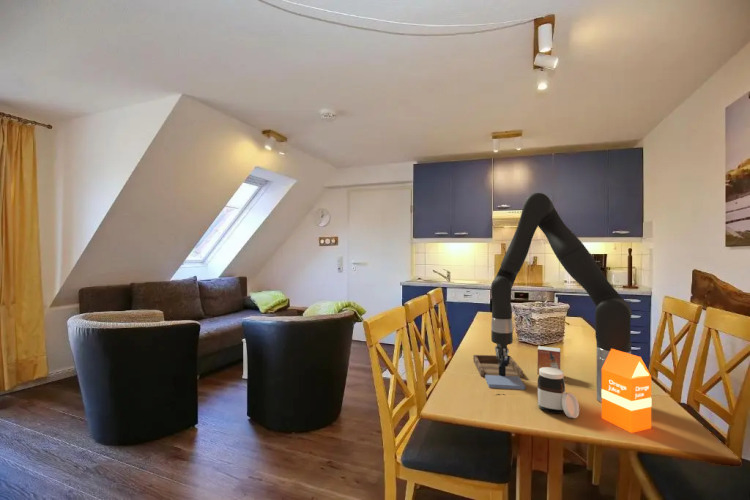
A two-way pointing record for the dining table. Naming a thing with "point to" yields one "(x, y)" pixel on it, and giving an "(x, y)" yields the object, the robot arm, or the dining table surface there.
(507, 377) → the cover plate
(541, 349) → the small box
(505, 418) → the dining table surface
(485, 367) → the walnut tray
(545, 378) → the spread jar
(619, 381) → the orange juice
